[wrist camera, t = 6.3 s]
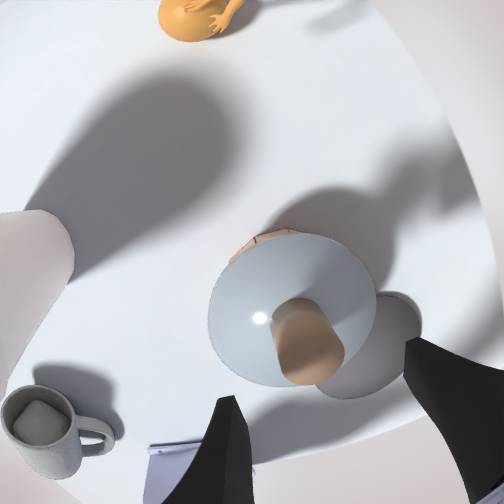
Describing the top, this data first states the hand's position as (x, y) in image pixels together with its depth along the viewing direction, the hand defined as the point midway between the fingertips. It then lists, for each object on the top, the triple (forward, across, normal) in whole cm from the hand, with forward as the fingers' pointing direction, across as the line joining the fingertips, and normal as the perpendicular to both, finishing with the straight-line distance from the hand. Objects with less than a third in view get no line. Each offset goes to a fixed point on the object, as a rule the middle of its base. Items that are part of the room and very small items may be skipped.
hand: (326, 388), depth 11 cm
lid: (+6, 0, 0) cm, 6 cm away
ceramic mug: (+10, +24, +9) cm, 27 cm away
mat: (+10, -6, +8) cm, 14 cm away
